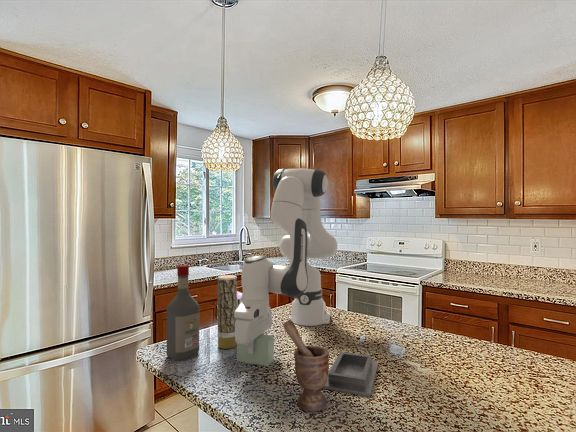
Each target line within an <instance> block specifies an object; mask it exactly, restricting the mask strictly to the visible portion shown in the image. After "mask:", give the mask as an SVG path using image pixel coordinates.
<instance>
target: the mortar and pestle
mask: <svg viewBox="0 0 576 432" xmlns="http://www.w3.org/2000/svg"><path fill="white" fill-rule="evenodd" d="M282 326H283V328H284V331H285V332H286V334H287V336H288V337H289V338H290V339H291V341H292V342H293V343H294V346H295V347H296V348H295V349H294V352H293V354H294V355H293V357H294V371H295V372H294V373H295V377H296V380H297V384H298V385H299V386H300V387H301V388H302V390H303V391H301V393H300V394H299V396H298V398H297V406H298V407H299V408H300V409H302V410H304V411H306V412H318V411H319V412H320V411H325V410H326V409H327V407H328V401H327V397H326V395H325V394H324V392H322V390H323V387H324V385H325V384H326V382H327V378H328V372H329V370H330V366H329V365H330V363H329V361H330V360H329V359H330V358H329V357H330V353H329V350H328V349H327V348H326V347H324V346H321V345H315V344H314V345H305V342H304V341H303V339H302V337H301V335H300V332H299V331H298V328H297V327H296V324H295V323H293V322H292V321H291V320H289V319H288V320H287V321H285V322H283V324H282Z"/></svg>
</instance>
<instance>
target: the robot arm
mask: <svg viewBox="0 0 576 432" xmlns="http://www.w3.org/2000/svg"><path fill="white" fill-rule="evenodd" d="M271 182H272V188H273V190H274V196H273V199H272V204H271V207H270V208H271V209H270V220H271V221H272V223H273V225H274V226H275V227H276V228H277V229H279V230H281V231H283V233H286V235H284V236H283V237H282V238H281V239H280V241H279V245H278V246H279V251H280V253H281V254H282V256H283V257H284V258H285V259H287V260H288V261H289V264H288V265H285V264H278V263H274V262H272V261H270V260H268V259H267V256H265V255H258V254H257V255H252V256H249V257H247V258H245V259H244V260H243V263H242V267H241V281H240V282H241V288H242V292H241V293H242V302H241V303H240V305H239V306H238V308H237V309H236V310H235V312H234V318H237V319H236V321H235V341H236V343H237V344H238V345H244V346H246V345H247V348H248V353H249V354H253V353H254V352H255V347H253V343H254V339H256V338H257V337H258V336H260V335H261V334H264V335H265V332H266V331H267V330H269V329H270V328H271V327H272V325H273V313H272V308H271V306H270V295H269V293H273V294H278V295H283V296H286V297H290V298H294V300H292V302H291V315H289V316H288V318H287V319H288V320H291V321H292V322H293V323H294V325H299V326H307V327H313V326H319V325H328V324H330V322H331V320H330V319H331V312H329V311H327V308H326V304H327V303H326V302H325V300H324V299H323V288H322V286H321V285H322V281H321V280H322V279H321V278H322V277H321V276H322V275H321V272H320V270H319V269H318V268H316V267H315V266H313V265H311V264H309V262H308V260H309V259H315V260H316V259H321V260H322V259H327V258H328V259H329V258H333V257H334V256H335V255H336V253H337V252H338V241H337V239H336V238H335V236H334V235H332V234H330V233H329V232H328V230H326V228H325V227H324V225H323V222H322V216H321V197H322V196H323V195H325V193H326V192H327V189H328V185H329V180H328V175H327V173H325V171H323V170H322V169H321V170H320V169H312V168H305V167H299V168H279V169H277V170H276V171H275V172H274V174H273V176H272V181H271Z"/></svg>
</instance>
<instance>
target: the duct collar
mask: <svg viewBox="0 0 576 432" xmlns="http://www.w3.org/2000/svg"><path fill="white" fill-rule="evenodd" d="M378 366H379V362H375V361H373V355H366V354H358V353H350V352H344V351H340V352H339V354H338V356H337V357H335V359H334V362H333V363H332V365H331V366H330V368H329V372H328V378H327V382H326V384H325V385H324V387H323V388H322V390H323V389H324V390H329V391H334V392H341V393H346V394H353V395H358V396H363V397H368V398H369V397H370V398H371V396H372V392H373V387H374V383H375V379H376V375H377V371H378Z"/></svg>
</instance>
